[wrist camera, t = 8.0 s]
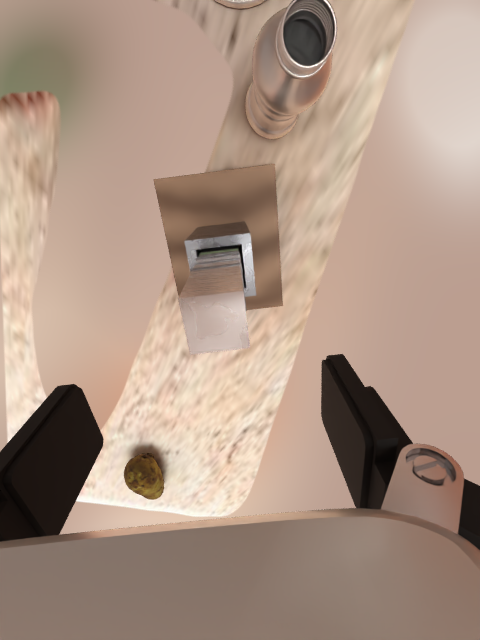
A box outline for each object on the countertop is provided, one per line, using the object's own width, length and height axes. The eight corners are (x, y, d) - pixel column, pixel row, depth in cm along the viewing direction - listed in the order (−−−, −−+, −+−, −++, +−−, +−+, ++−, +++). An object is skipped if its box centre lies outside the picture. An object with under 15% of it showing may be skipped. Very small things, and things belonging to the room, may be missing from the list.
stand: (156, 179, 39) (121, 175, 27) (273, 164, 39) (292, 153, 26) (184, 313, 47) (168, 357, 35) (281, 302, 47) (299, 342, 35)
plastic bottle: (259, 152, 38) (285, 118, 20) (234, 97, 36) (238, 0, 17) (304, 124, 37) (374, 61, 19) (281, 65, 34) (337, -74, 16)
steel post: (203, 242, 35) (176, 297, 17) (237, 238, 35) (244, 289, 17) (209, 276, 37) (189, 356, 19) (241, 272, 37) (251, 348, 19)
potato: (126, 479, 63) (113, 516, 56) (134, 437, 58) (120, 472, 51) (164, 485, 64) (156, 522, 57) (174, 444, 59) (167, 479, 52)
